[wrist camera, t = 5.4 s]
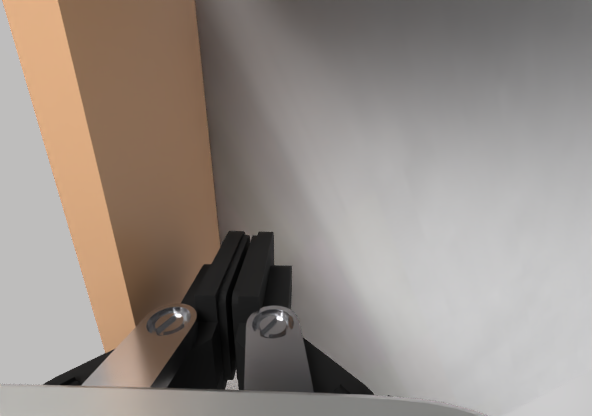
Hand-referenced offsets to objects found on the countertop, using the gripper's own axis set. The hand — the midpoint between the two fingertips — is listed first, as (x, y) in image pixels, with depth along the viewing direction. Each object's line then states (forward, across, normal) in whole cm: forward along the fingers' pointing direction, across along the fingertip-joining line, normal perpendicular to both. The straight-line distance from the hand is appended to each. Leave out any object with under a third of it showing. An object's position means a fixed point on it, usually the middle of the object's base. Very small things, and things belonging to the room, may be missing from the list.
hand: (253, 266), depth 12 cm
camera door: (+4, +3, -4) cm, 7 cm away
